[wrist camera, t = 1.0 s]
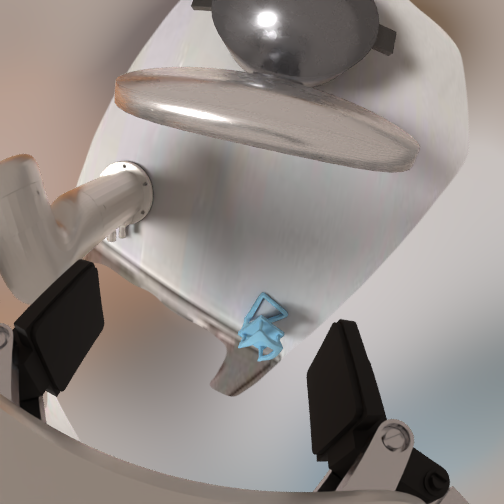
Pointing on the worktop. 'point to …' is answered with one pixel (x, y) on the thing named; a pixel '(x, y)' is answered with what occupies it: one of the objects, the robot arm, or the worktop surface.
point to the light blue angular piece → (263, 330)
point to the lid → (266, 115)
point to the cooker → (299, 35)
